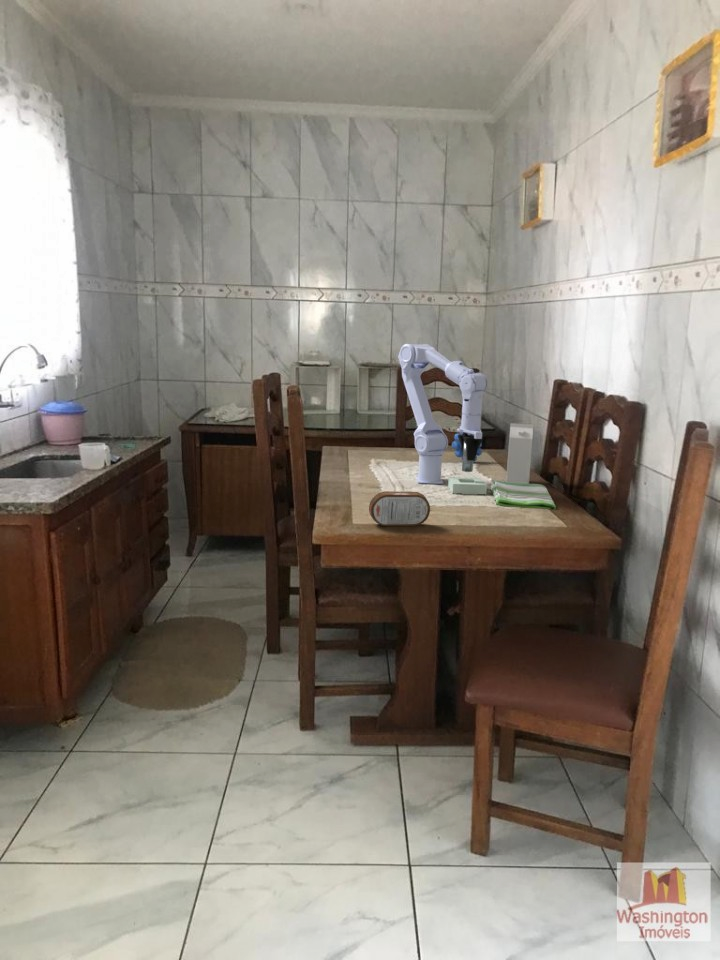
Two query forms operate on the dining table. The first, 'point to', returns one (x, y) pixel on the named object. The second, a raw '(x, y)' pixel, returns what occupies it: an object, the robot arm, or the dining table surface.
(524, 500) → the dish towel
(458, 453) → the grapes
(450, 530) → the dining table surface
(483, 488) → the socket
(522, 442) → the milk carton
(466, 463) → the peg
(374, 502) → the tin
